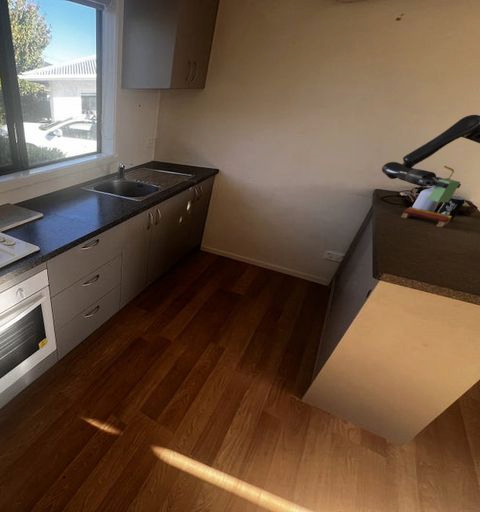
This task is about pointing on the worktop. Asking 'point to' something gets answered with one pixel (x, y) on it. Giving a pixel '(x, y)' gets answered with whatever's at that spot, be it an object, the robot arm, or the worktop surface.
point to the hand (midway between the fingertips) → (453, 186)
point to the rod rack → (427, 215)
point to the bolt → (467, 209)
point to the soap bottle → (423, 200)
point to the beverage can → (452, 206)
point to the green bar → (444, 191)
